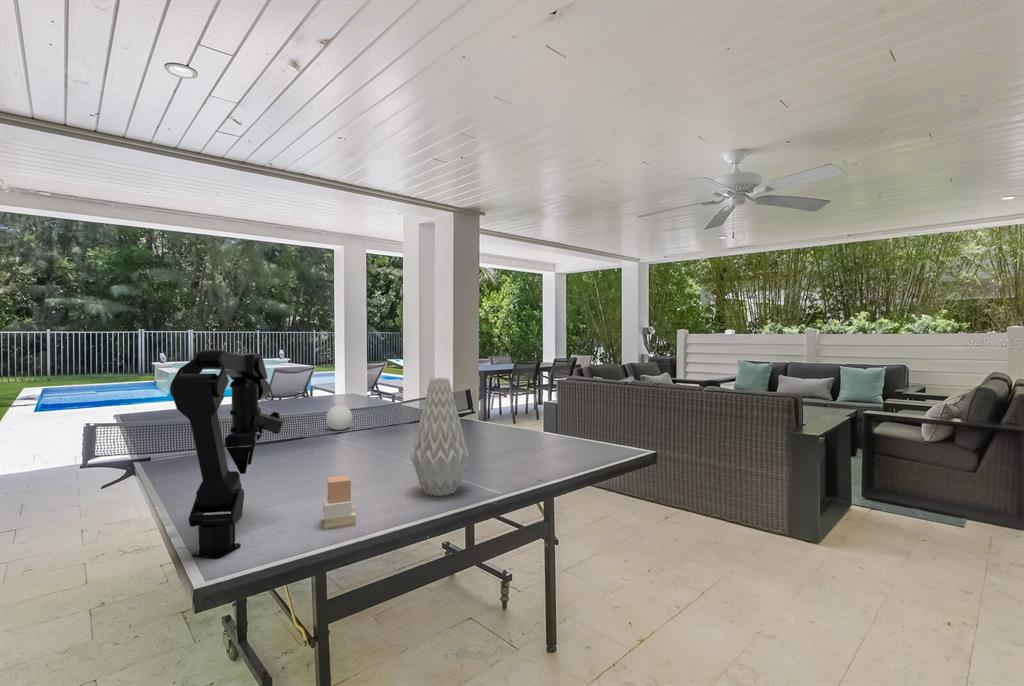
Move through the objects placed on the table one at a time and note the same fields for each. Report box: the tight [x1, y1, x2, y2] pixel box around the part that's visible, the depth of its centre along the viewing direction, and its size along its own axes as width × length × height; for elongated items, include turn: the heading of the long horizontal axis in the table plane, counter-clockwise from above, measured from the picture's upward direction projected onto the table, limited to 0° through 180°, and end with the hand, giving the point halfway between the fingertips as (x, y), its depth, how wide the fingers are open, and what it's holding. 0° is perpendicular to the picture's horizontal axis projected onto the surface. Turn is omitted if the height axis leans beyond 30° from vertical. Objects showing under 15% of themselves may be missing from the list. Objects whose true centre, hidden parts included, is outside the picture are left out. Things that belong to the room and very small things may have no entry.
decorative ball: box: [326, 404, 353, 431], centre depth 248 cm, size 12×12×12 cm
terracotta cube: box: [327, 474, 352, 504], centre depth 123 cm, size 5×5×5 cm
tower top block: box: [322, 497, 352, 519], centre depth 122 cm, size 6×6×3 cm
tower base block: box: [323, 505, 356, 531], centre depth 123 cm, size 7×7×3 cm
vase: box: [410, 377, 470, 497], centre depth 147 cm, size 17×17×33 cm
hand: (245, 468), depth 123 cm, fingers open, 9 cm apart
